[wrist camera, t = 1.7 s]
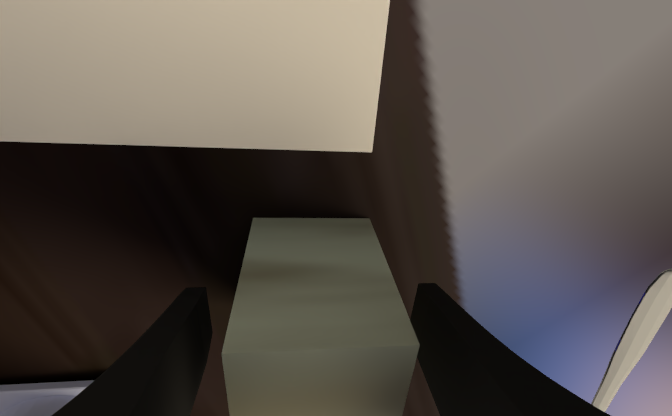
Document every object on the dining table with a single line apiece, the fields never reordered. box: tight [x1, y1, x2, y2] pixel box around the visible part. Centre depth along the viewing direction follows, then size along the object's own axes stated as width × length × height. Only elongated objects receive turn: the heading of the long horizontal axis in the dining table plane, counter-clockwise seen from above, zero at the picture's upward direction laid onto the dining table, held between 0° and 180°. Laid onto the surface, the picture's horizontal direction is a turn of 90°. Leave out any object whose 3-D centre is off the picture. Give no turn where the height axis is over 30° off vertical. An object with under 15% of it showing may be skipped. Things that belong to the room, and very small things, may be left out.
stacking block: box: [222, 218, 420, 416], centre depth 11 cm, size 4×4×6 cm
